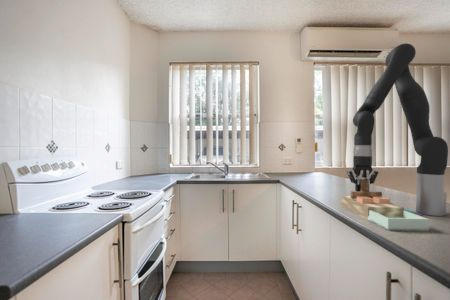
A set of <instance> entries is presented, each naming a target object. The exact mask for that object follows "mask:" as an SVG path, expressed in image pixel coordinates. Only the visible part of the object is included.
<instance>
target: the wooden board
mask: <svg viewBox="0 0 450 300" xmlns="http://www.w3.org/2000/svg"><path fill="white" fill-rule="evenodd" d="M341 207H342V208H343V209H346V210H348V211H349V212H352V213H354V214H355V215H357V216H359V217H361V218H363V219H365V220H367V221H369V220H368V216H369V210H372V211H374V212H376V213H378V214H381V215H383V216H396V217H403V211H405V210H404V208H405V207H403V206H401V205H397V204H395V203H393V204H392V202H390V204H379V203H376V202H373V204H362V203H360V202H357V199H352V198H351V195H341Z"/></svg>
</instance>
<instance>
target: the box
mask: <svg viewBox="0 0 450 300" xmlns="http://www.w3.org/2000/svg"><path fill="white" fill-rule="evenodd" d="M367 221H369V222H371V223H373V224H375V225H377V226H379V227H381V228H383V229H384V230H387V231H397V232H398V231H400V232H401V231H404V232H405V231H407V232H408V231H409V232H429V231H430V219H429V218H427V217H424V216H419V215H416V214H414V213H412V212H409V211H407V210H404V211H403V217H396V216H383V215H381V214H378V213H376V212H374V211H372V210H369V216H368V220H367Z"/></svg>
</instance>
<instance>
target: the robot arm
mask: <svg viewBox="0 0 450 300" xmlns="http://www.w3.org/2000/svg"><path fill="white" fill-rule="evenodd" d="M416 51H417V50H416V48H415V46H414V45H413V44H411V43H408V42H407V43H400V44H399V45H397V46H395V47H394V48H393V49H392V50H391V51H389V53H388V54H387V55H386V57H385V59H384V60H385V61H384V62H385V65H386V68H385V70H384V72H383V73H382V74H381V75H380V77H379V79H378V80H377V81H376V83H375V84H374V85H373V86H372V88H371V89H370V91H369V92H368V95H367V96H366V97H365V100H364V102H363V104H361V105H360V107H359V108H358V110H357V111H356V112H355V114H354V115H353V118H352V123H353V125H354V126H355V127H356V133H355V134H354V137H353V141H354V142H353V143H354V144H353V153H352V154H353V156H352V157H353V158H352V161H353V164H352V165H353V167H352V169H350V170H347V171H346V173H347V176H348V178H349V180H350V183H352V184H354V185H355V186H354V187H355V191H356V192H360V181H361V179H364V180H369V186H370V185H372V184H374V183H375V181H376V179H377V177H378V175H379V171H376V170H373V167H372V166H373V147H372V145H373V144H372V143H373V139H372V137H373V133H374V129H375V116H374V114H375V113H376V112H377V111H379V109H380V108H381V107H382V105H383V103H384V102H385V101H386V98H387V97H388V95H389V94H390V91H391V90H392V89H393V86H394V85H395V89H396V93H397V95H398V98H399V103H400V105H401V108H402V111H403V114H404V116H405V118H406V119H405V120H406V121H407V125H408V127H409V130H410V133H411V138H412V144H413V148H414V151H415V153H416V154H417V155H418V156H419V157H420V164H419V165H418V166H417V167H416V194H415V196H416V197H415V199H416V200H415V202H416V203H415V205H416V206H415V212H416V213H419V214H421V215H428V216H433V217H434V216H435V217H442V216H446V215H447V195H448V194H447V192H445V174H446V172H445V171H446V169H447V167H448V160H449V159H448V158H449V147H448V146H449V145H448V143H447V141H446V139H444V138H442V137H439V136H434V134H433V132H432V130H431V129H432V128H431V126H430V102H429V101H428V97H427V94H426V92H425V90H424V88H423V87H422V86H421V85H420V84H419V83H418V82H417V81H416V80H415V78H414V77H413V76H412V73H411V70H410V67H409V65H410V63H412V61H413V60H414V59H415V57H416V54H417V53H416ZM354 175H355V176H354Z"/></svg>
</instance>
